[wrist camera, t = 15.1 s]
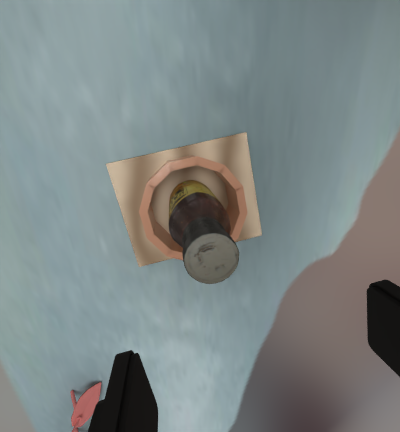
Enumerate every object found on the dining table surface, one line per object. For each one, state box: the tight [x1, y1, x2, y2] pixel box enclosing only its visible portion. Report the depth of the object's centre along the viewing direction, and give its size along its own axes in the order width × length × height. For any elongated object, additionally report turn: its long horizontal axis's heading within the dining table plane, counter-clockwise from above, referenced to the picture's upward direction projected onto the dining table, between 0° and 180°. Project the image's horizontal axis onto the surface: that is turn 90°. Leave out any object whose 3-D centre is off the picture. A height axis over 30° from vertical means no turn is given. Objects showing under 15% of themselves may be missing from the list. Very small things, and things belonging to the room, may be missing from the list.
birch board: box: [106, 132, 262, 267], centre depth 37 cm, size 20×16×2 cm
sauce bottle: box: [169, 180, 239, 284], centre depth 27 cm, size 7×6×20 cm
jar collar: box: [139, 155, 248, 260], centre depth 33 cm, size 13×13×6 cm
